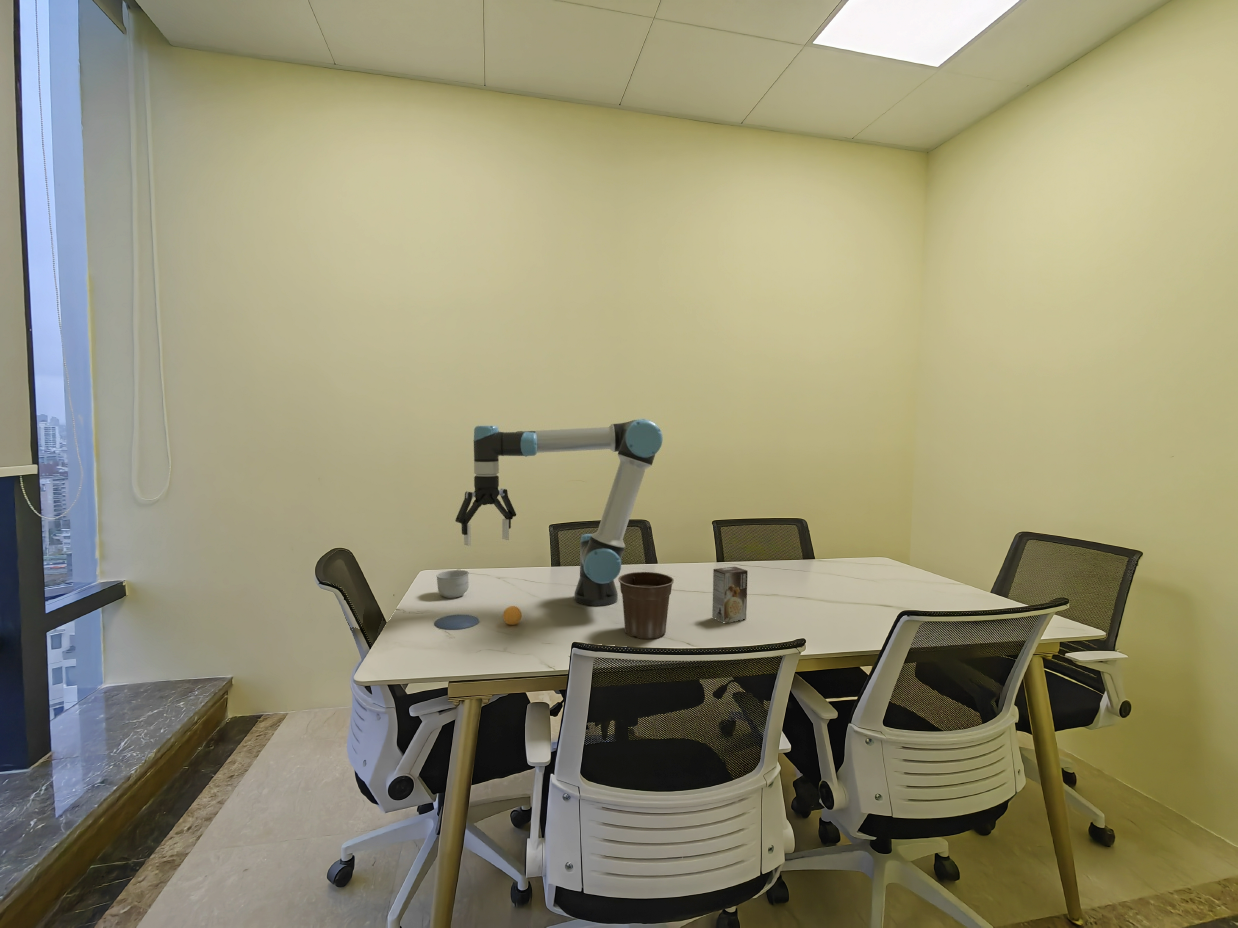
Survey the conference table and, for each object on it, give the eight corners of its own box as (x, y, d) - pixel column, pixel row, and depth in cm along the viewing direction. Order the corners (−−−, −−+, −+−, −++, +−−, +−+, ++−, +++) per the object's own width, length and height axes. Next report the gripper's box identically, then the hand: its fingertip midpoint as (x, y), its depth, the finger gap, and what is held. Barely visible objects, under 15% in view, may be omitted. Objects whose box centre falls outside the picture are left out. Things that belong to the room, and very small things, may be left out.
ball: (523, 621, 177) (523, 604, 177) (519, 627, 172) (519, 609, 171) (505, 620, 177) (505, 603, 177) (501, 627, 172) (501, 609, 172)
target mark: (484, 615, 181) (484, 615, 181) (471, 630, 169) (471, 629, 168) (443, 614, 182) (443, 613, 182) (427, 628, 169) (427, 628, 169)
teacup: (459, 601, 196) (459, 578, 195) (430, 598, 198) (430, 575, 197) (477, 590, 209) (477, 568, 209) (450, 587, 212) (450, 566, 211)
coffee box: (734, 613, 190) (735, 565, 188) (746, 619, 184) (748, 570, 183) (711, 617, 185) (713, 568, 184) (723, 623, 180) (725, 573, 179)
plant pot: (631, 645, 160) (632, 588, 159) (608, 626, 175) (610, 574, 174) (682, 638, 167) (683, 583, 166) (656, 620, 181) (658, 569, 180)
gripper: (513, 472, 192) (514, 535, 193) (443, 476, 175) (444, 545, 176) (526, 473, 186) (526, 538, 188) (455, 478, 169) (456, 549, 171)
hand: (487, 542), depth 182 cm, fingers open, 13 cm apart
